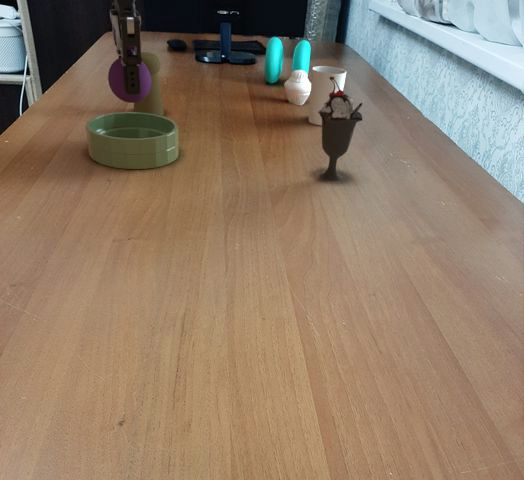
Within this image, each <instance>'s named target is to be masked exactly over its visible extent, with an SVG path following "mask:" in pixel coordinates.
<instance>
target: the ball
mask: <svg viewBox="0 0 524 480" xmlns="http://www.w3.org/2000/svg"><path fill="white" fill-rule="evenodd" d="M121 60H122V57H120V58H119V57H118V58H117V59H115V60H114V61H113V62H112V64H111V65H110V67H109V69H108V72H107V73H108V74H107V81H108V85H109V88H110V90H111V92H112V93H113V94H114V96H115V97H116V98H118V99H119V100H120V101H123V102H124V103H129V104H130V103H131V104H134V103H135V102H139V101H141V100H143V99H144V98H145V97H146V96H147V95H148V93H149V91H150V88H151V75H150V72H149V70H148V68H147V67H146V65H145V64H144V63H143V62H141V65H140V66H139V77H140V93H139V94H127V93H126V92H125V87H124V74H123V65H122V64H121Z"/></svg>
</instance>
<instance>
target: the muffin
mask: <svg viewBox="0 0 524 480" xmlns="http://www.w3.org/2000/svg"><path fill="white" fill-rule="evenodd" d="M283 88H284V91H285V95H286V97H287V100H288V103H289V104H292V105H295V106H303V105H305V103H306V101H307V100H308V98H309V97H310V94H311V81H310V80H309V78H308V76H307V73H306V72H305V71H303V70H300V69H299V70H295V71H293V72H292V71H291V73H290V76H289V78H288V79H287V80H286V81H285V82H284V84H283Z"/></svg>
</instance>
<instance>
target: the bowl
mask: <svg viewBox="0 0 524 480" xmlns="http://www.w3.org/2000/svg"><path fill="white" fill-rule="evenodd" d="M85 131H86V141H87V149H88V150H87V151H88V156H89V157H90V159H92V161H94V162H96V163H98V164H100V165H103V166H106V167H110V168H116V169H124V170H147V169H153V168H154V169H155V168H160V167H164V166H167V165H169V164H171V163H173V162H175V161H176V160H177V159H178V157H179V156H180V154H179V153H180V152H179V150H180V149H179V126H178V123H177V122H175V121H174V120H173V119H171V118H169V117H167V116H164V115H163V116H160V115H155V114H149V113H141V112H133V111H119V112H111V113H105V114H100V115H97V116H94V117H91V118H90V119H88V121H86V124H85Z"/></svg>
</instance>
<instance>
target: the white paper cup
mask: <svg viewBox="0 0 524 480" xmlns="http://www.w3.org/2000/svg"><path fill="white" fill-rule="evenodd" d="M346 75H347V70H345V69H343V68H340V67H336V66H328V65H318V66H313V67H312V69H311V81H310V83H311V92H310V95H309V107H308V109H309V110H308V122H309V123H310V124H312V125H316V126H321V127H322V117H321V116H320V114H319V113H318V112H319V111H320V110H322V107H323V106H324V103H326V102H327V101H328V100H329V99H330V98H329V94H330V93H332V92H333V90H334V83H335V91H334V92H335V93H336V92H337V91H339V89H340V90H342V91H343V92H344V86H345V81H346ZM330 77H334V80H335V81H336V82H337V84H338V86H339V89H338V87H337V85H336V82H335V81H334V80H333V79H332V80H333V82H334V83H333V82H332V81H331V80H330Z"/></svg>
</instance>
